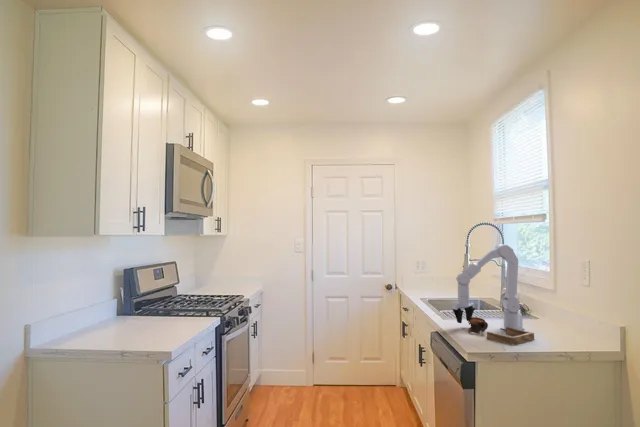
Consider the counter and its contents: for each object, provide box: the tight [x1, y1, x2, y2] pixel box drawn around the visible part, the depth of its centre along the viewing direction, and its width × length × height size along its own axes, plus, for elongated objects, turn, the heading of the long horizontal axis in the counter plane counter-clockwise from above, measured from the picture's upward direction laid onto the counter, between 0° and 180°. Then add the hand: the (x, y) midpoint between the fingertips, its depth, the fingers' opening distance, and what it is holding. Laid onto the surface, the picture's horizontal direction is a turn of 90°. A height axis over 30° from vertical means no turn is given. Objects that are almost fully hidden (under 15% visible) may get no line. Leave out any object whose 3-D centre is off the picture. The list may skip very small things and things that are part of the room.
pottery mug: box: [467, 316, 489, 334], centre depth 208 cm, size 12×10×8 cm
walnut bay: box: [486, 327, 535, 346], centre depth 195 cm, size 17×14×3 cm
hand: (464, 321), depth 216 cm, fingers open, 7 cm apart
